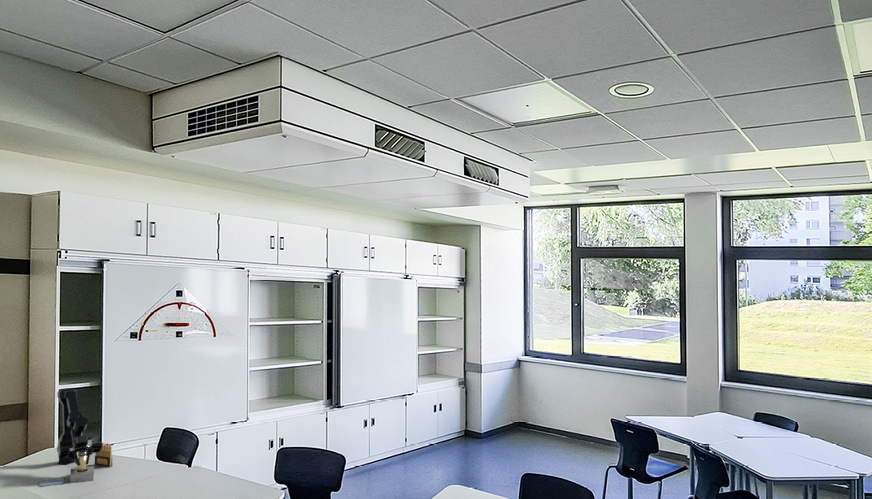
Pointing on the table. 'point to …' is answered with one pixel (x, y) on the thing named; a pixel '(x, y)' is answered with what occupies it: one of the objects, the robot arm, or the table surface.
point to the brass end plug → (82, 461)
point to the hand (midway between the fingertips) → (83, 464)
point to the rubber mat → (51, 481)
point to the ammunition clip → (104, 456)
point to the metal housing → (81, 475)
